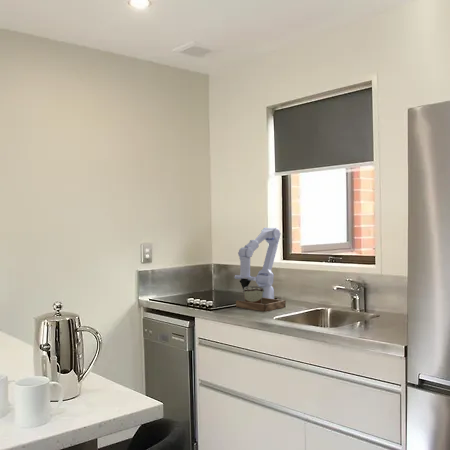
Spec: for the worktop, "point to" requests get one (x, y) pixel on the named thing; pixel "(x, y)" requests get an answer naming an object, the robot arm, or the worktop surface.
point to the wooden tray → (262, 304)
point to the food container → (253, 294)
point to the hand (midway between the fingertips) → (245, 292)
